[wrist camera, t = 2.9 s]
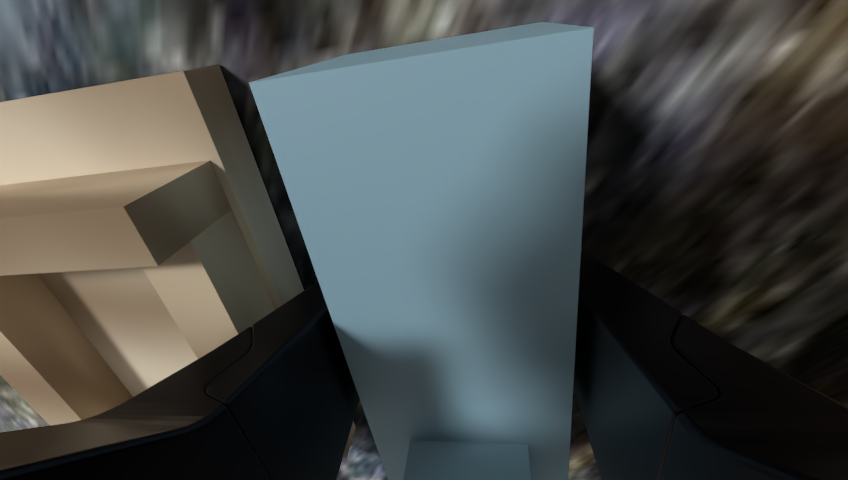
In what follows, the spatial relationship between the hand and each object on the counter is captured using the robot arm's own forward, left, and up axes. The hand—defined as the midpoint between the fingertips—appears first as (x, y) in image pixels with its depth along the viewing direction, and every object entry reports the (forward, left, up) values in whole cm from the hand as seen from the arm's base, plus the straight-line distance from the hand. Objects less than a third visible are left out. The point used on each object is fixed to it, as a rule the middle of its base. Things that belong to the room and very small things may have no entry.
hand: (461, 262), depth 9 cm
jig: (-2, +9, -1) cm, 10 cm away
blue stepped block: (0, 0, -1) cm, 1 cm away
